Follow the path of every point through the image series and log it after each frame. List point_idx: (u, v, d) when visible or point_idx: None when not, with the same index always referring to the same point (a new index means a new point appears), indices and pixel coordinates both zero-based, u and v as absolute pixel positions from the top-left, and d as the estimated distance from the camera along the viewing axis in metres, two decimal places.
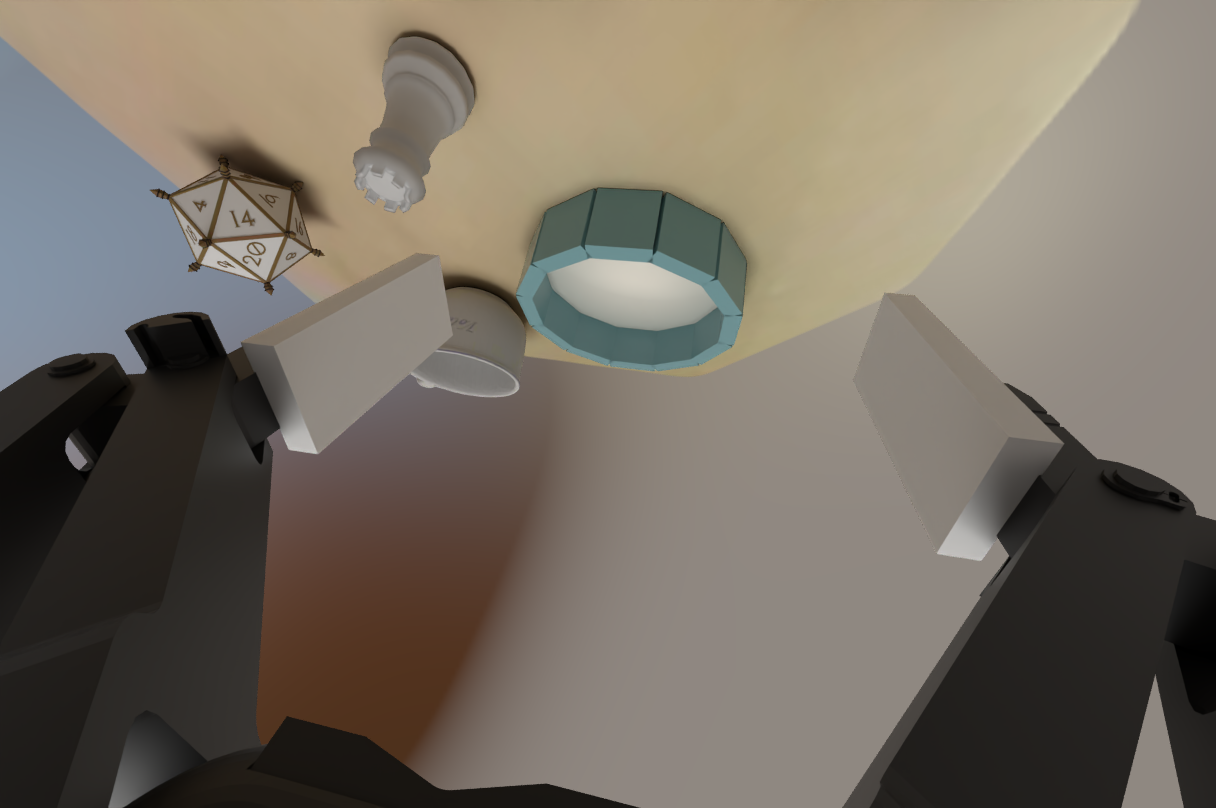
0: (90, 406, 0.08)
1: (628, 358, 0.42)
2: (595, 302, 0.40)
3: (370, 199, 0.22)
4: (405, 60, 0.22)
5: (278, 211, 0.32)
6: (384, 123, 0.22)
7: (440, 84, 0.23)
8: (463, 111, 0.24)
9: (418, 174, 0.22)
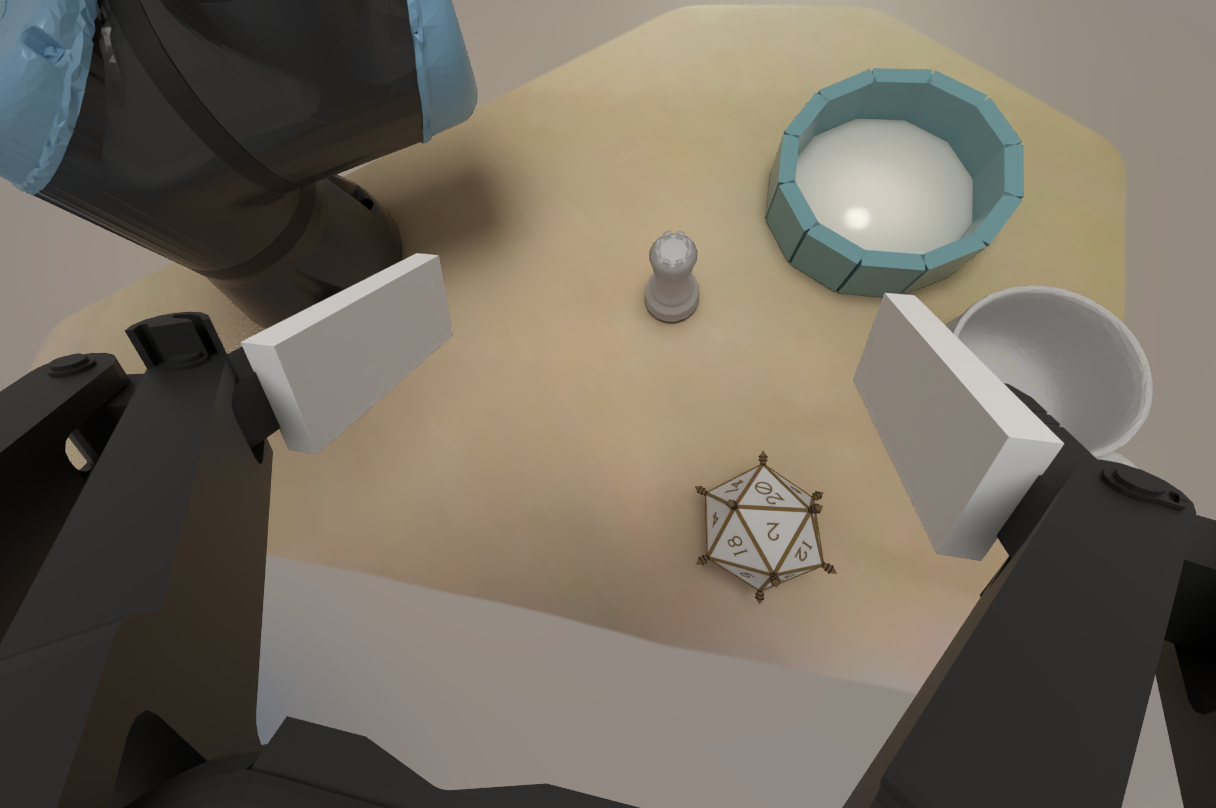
0: (90, 406, 0.08)
1: (1000, 177, 0.33)
2: (918, 237, 0.36)
3: (678, 261, 0.31)
4: (647, 285, 0.37)
5: None
6: None
7: None
8: None
9: None
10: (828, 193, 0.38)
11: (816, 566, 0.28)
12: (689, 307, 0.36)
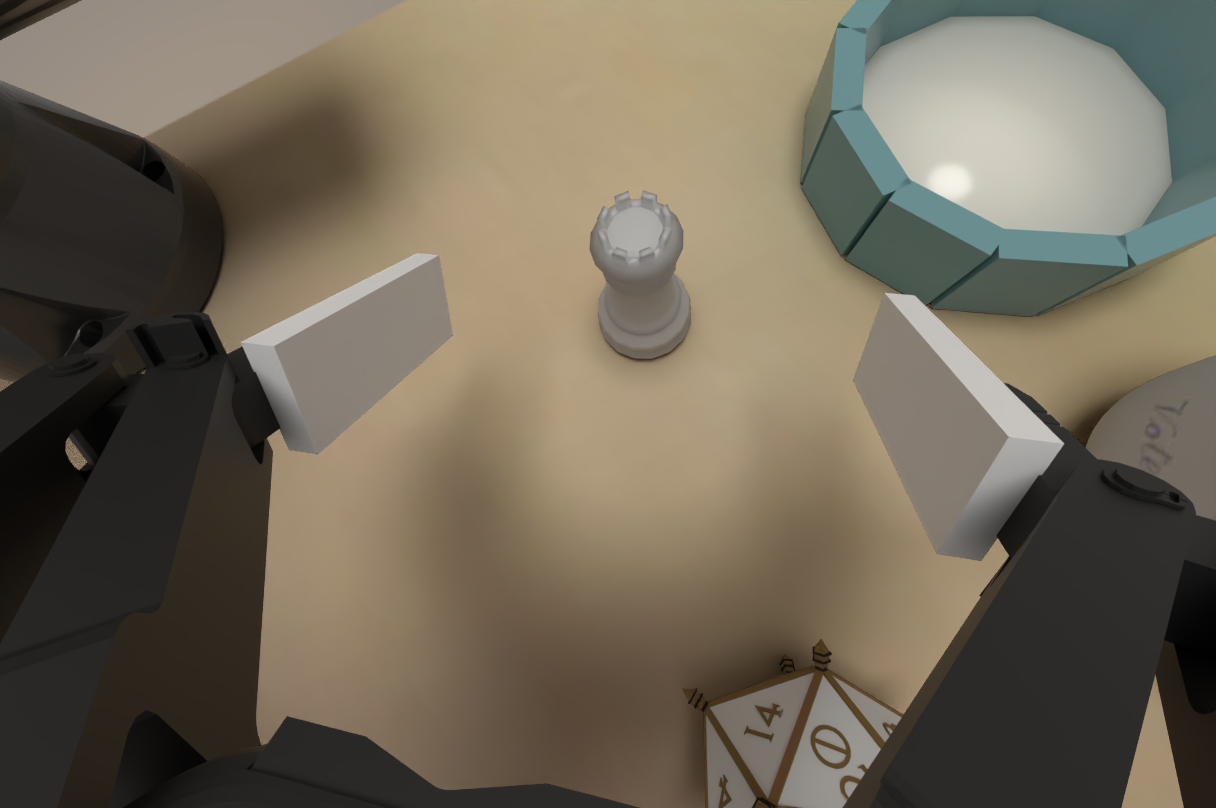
0: (90, 406, 0.08)
1: None
2: (1075, 209, 0.20)
3: (644, 251, 0.15)
4: (601, 298, 0.21)
5: None
6: None
7: None
8: None
9: None
10: (909, 138, 0.22)
11: None
12: (673, 335, 0.21)
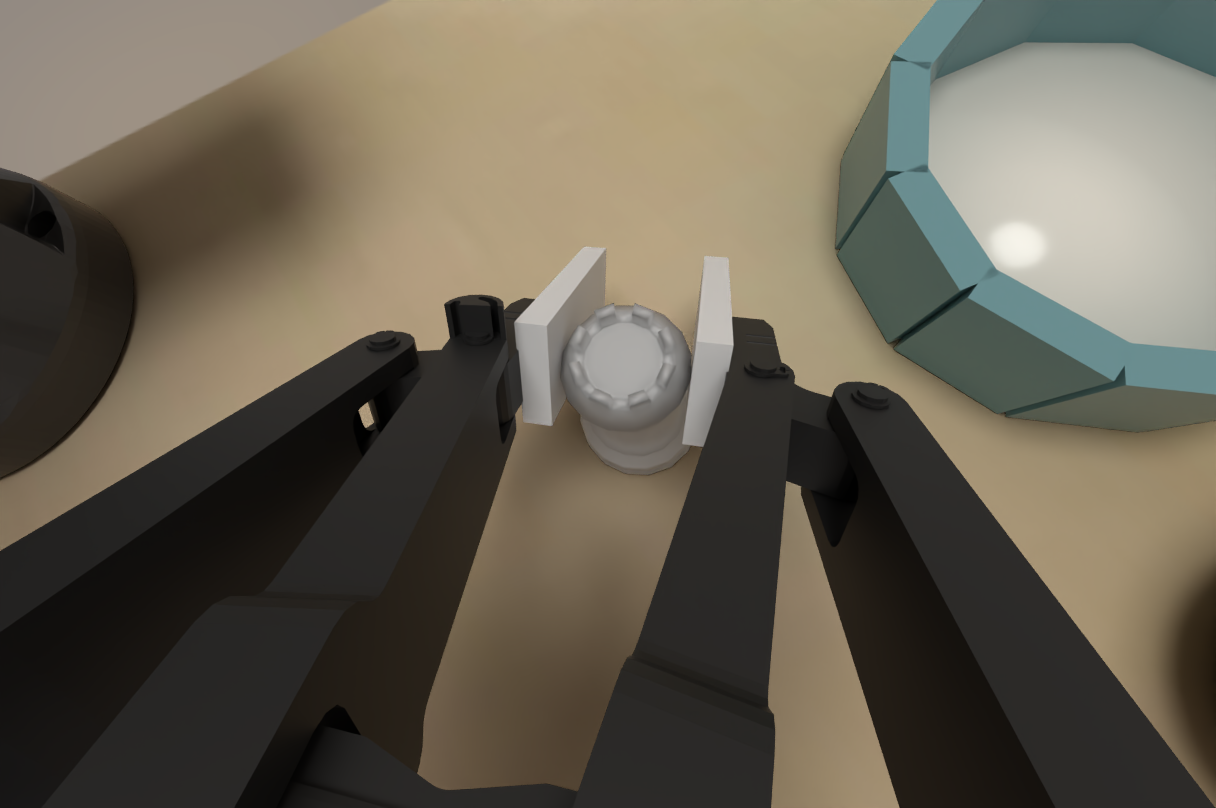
0: (382, 384, 0.09)
1: None
2: (1198, 296, 0.16)
3: (635, 397, 0.10)
4: None
5: None
6: None
7: None
8: None
9: None
10: (975, 197, 0.18)
11: None
12: (676, 453, 0.16)
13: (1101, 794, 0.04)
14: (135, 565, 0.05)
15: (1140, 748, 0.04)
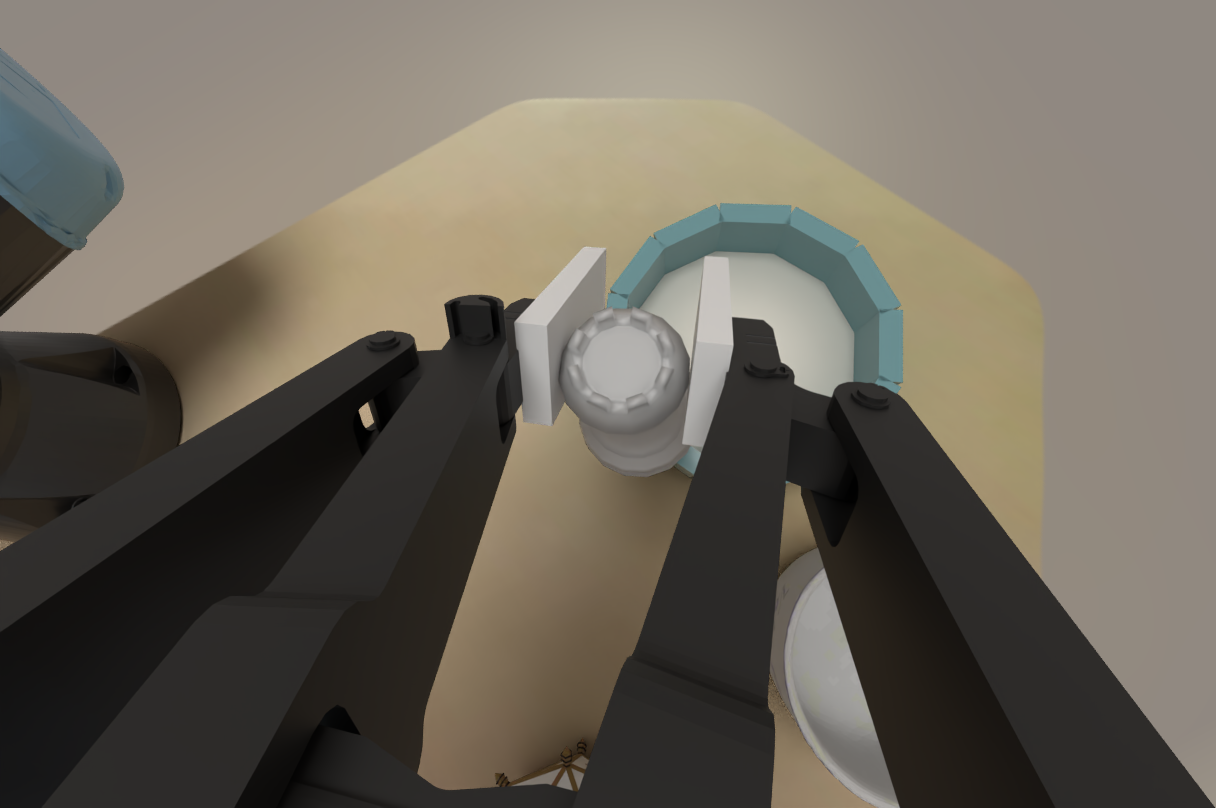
0: (382, 384, 0.09)
1: (876, 352, 0.26)
2: None
3: (633, 400, 0.10)
4: None
5: None
6: None
7: None
8: None
9: None
10: None
11: None
12: (675, 455, 0.16)
13: (1101, 794, 0.04)
14: (135, 565, 0.05)
15: (1140, 749, 0.04)
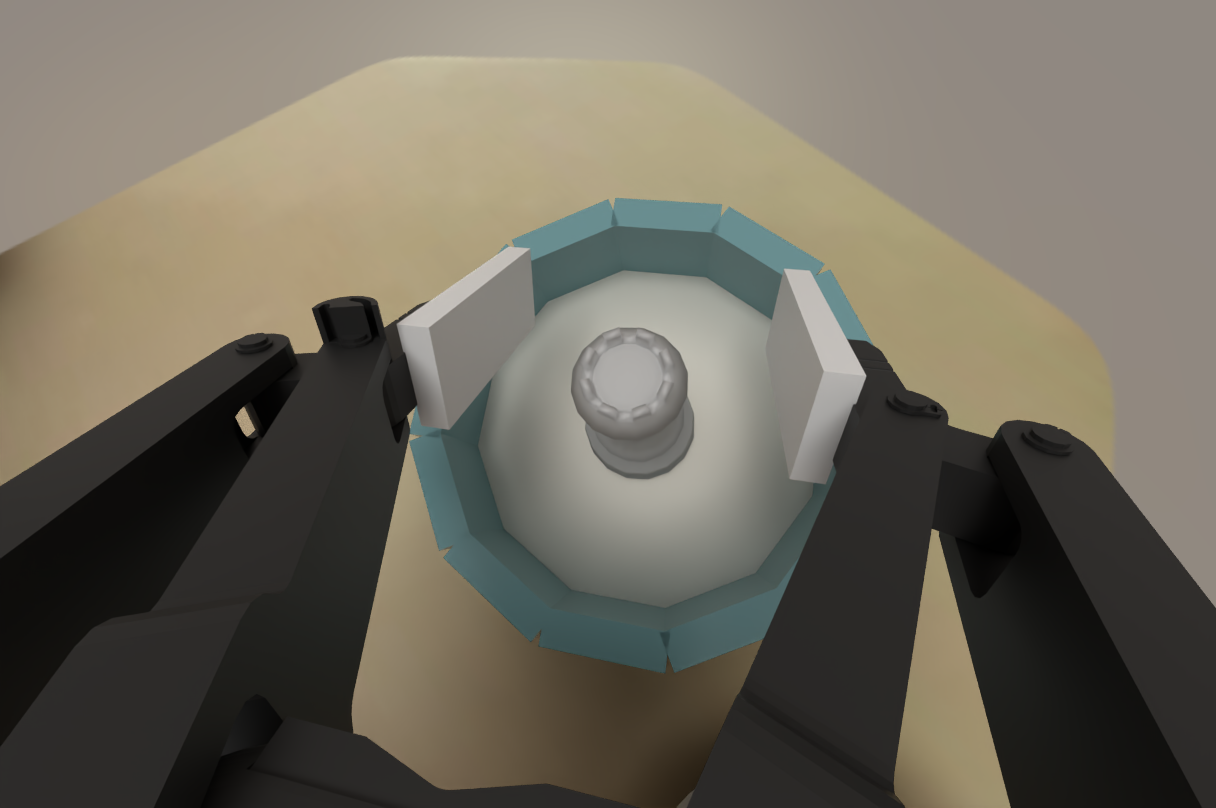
0: (260, 385, 0.09)
1: None
2: (710, 521, 0.19)
3: (638, 410, 0.12)
4: None
5: None
6: None
7: None
8: None
9: None
10: (559, 417, 0.20)
11: None
12: (673, 459, 0.18)
13: None
14: (7, 585, 0.05)
15: None
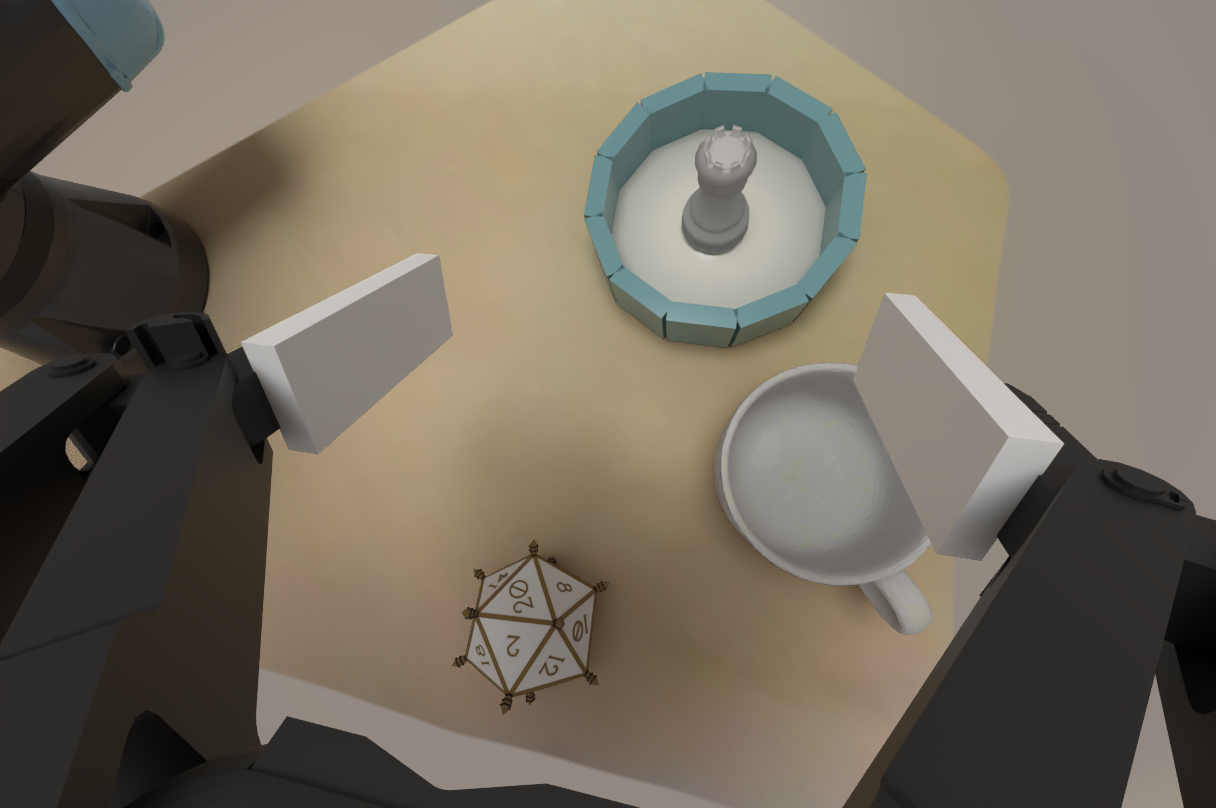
0: (90, 406, 0.08)
1: (838, 213, 0.28)
2: (757, 277, 0.31)
3: (734, 164, 0.24)
4: (686, 207, 0.30)
5: None
6: None
7: None
8: None
9: None
10: (661, 221, 0.32)
11: (575, 677, 0.25)
12: (737, 234, 0.30)
13: None
14: None
15: None
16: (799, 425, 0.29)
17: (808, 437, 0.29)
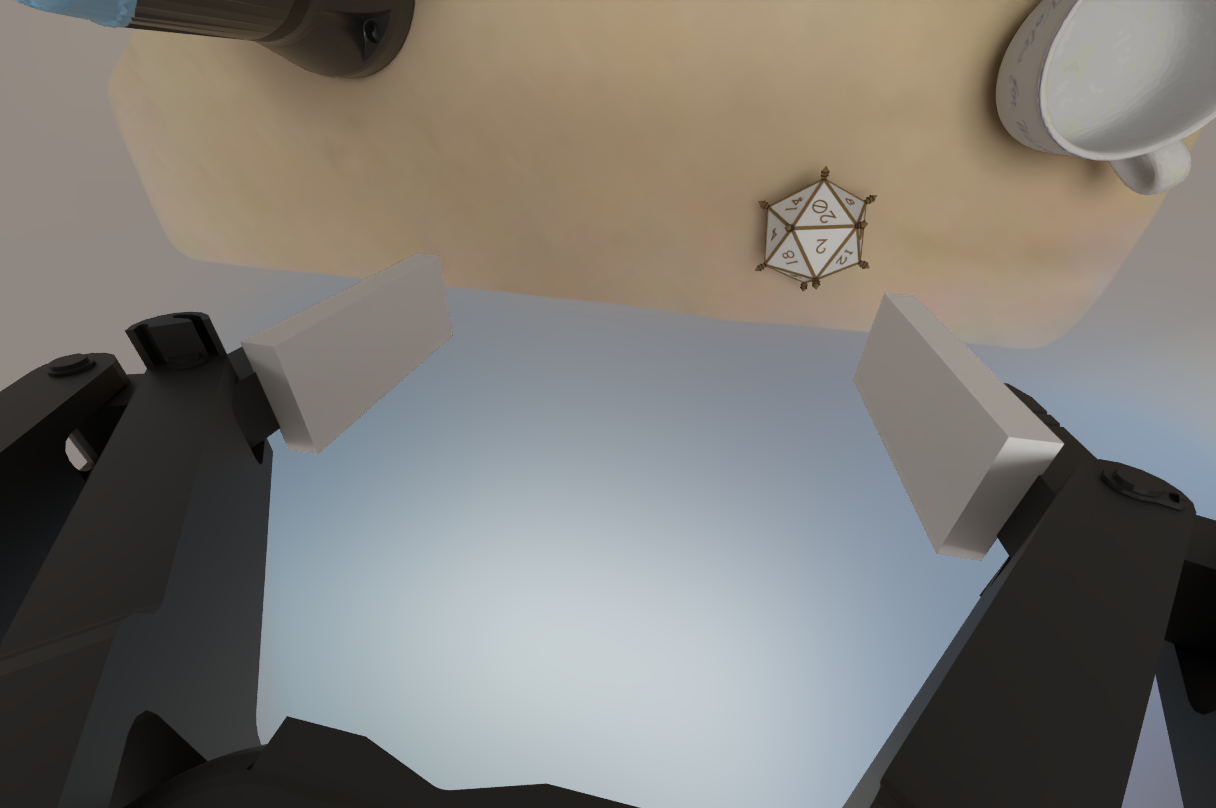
0: (90, 406, 0.08)
1: None
2: None
3: None
4: None
5: None
6: None
7: None
8: None
9: None
10: None
11: (853, 264, 0.36)
12: None
13: None
14: None
15: None
16: (1103, 2, 0.29)
17: (1107, 16, 0.29)
